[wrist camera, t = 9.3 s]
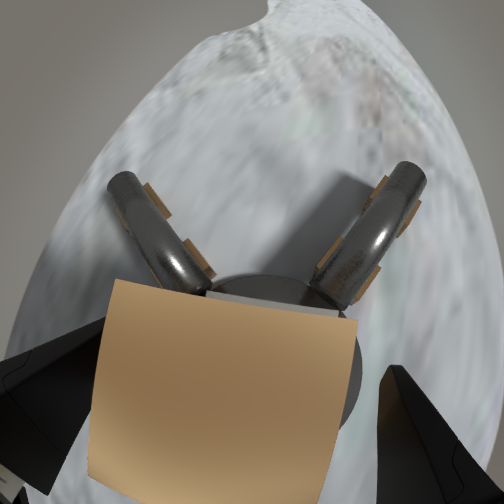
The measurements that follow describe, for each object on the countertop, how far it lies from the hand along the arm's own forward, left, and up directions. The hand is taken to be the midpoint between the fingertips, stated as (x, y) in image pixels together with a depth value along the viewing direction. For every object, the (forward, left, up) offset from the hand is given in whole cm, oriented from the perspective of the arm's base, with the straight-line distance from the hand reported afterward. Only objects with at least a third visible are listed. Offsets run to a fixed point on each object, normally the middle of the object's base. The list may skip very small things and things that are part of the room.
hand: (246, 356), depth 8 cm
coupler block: (0, +1, -8) cm, 8 cm away
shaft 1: (+9, -2, -9) cm, 13 cm away
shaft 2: (-2, -9, -9) cm, 13 cm away
